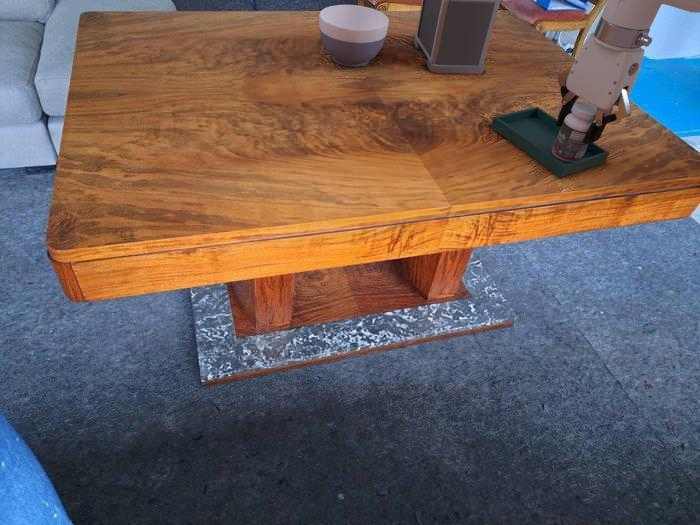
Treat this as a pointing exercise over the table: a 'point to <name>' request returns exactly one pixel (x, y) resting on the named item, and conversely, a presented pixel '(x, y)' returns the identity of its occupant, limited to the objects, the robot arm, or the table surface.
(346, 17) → the bowl
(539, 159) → the tray
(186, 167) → the table surface
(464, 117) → the table surface
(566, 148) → the pill bottle
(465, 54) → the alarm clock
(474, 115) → the table surface
